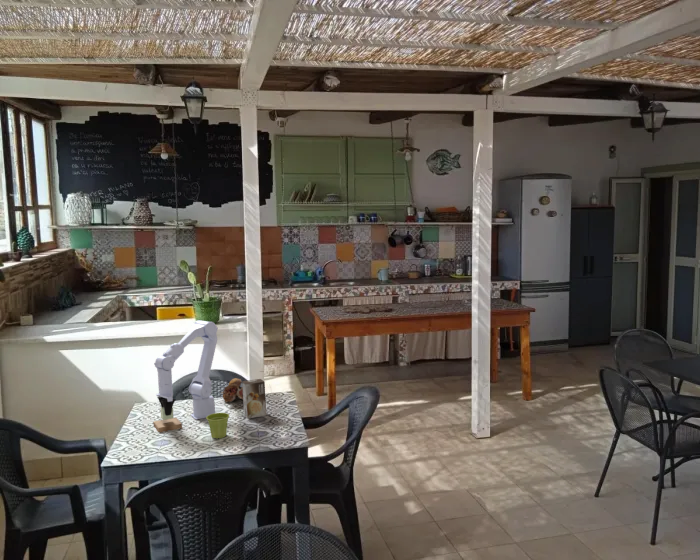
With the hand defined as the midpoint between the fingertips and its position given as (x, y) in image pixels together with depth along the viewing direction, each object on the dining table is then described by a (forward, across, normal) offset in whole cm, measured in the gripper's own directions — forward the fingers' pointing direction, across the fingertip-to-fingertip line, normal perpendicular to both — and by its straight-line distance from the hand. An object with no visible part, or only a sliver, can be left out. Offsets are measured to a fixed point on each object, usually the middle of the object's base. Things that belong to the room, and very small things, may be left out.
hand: (166, 413), depth 268 cm
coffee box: (+6, +7, +38) cm, 39 cm away
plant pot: (+6, +24, +15) cm, 29 cm away
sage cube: (+2, 0, 0) cm, 2 cm away
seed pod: (+6, -21, +38) cm, 44 cm away
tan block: (+6, 0, 0) cm, 6 cm away
